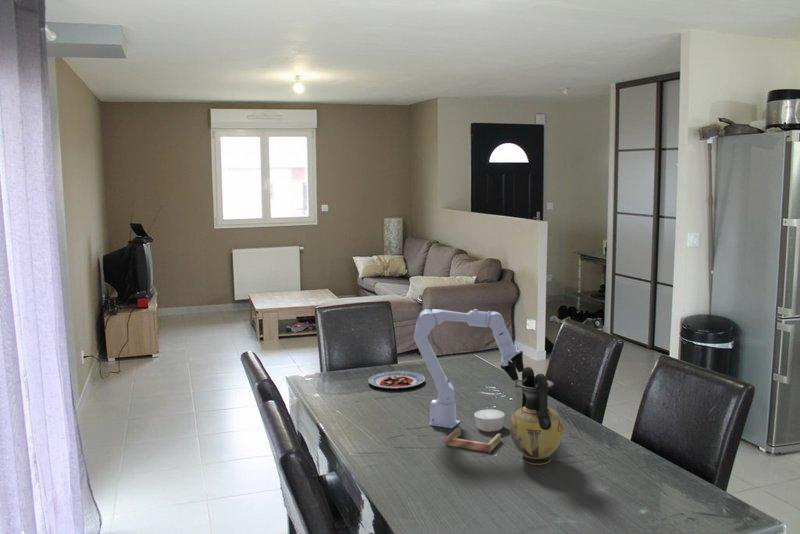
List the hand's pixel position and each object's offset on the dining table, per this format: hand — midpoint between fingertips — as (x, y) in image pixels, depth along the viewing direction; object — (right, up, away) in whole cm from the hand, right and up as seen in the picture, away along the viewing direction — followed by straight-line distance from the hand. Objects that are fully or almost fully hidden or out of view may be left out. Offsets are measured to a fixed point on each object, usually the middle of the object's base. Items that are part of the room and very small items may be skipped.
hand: (518, 375), depth 258 cm
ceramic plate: (-46, -13, +58) cm, 75 cm away
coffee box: (+2, -19, 0) cm, 19 cm away
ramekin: (-11, -19, -1) cm, 22 cm away
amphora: (0, -23, -31) cm, 39 cm away
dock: (-18, -21, -15) cm, 32 cm away
